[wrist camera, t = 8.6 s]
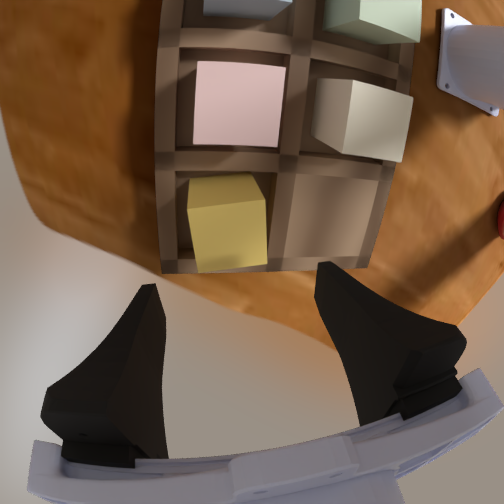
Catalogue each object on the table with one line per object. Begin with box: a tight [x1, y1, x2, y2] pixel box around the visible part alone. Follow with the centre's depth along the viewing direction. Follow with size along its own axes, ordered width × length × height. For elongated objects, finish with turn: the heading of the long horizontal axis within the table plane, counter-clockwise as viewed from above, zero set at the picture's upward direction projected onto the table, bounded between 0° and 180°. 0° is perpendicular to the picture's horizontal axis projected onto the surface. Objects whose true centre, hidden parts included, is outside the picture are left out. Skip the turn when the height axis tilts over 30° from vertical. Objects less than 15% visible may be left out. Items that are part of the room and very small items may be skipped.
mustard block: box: [187, 171, 267, 273], centre depth 18 cm, size 4×4×5 cm
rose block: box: [193, 61, 286, 147], centre depth 15 cm, size 4×4×5 cm
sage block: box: [323, 0, 422, 45], centre depth 12 cm, size 4×4×5 cm
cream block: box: [310, 78, 413, 162], centre depth 16 cm, size 4×4×5 cm
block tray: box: [154, 0, 415, 274], centre depth 17 cm, size 16×24×2 cm
